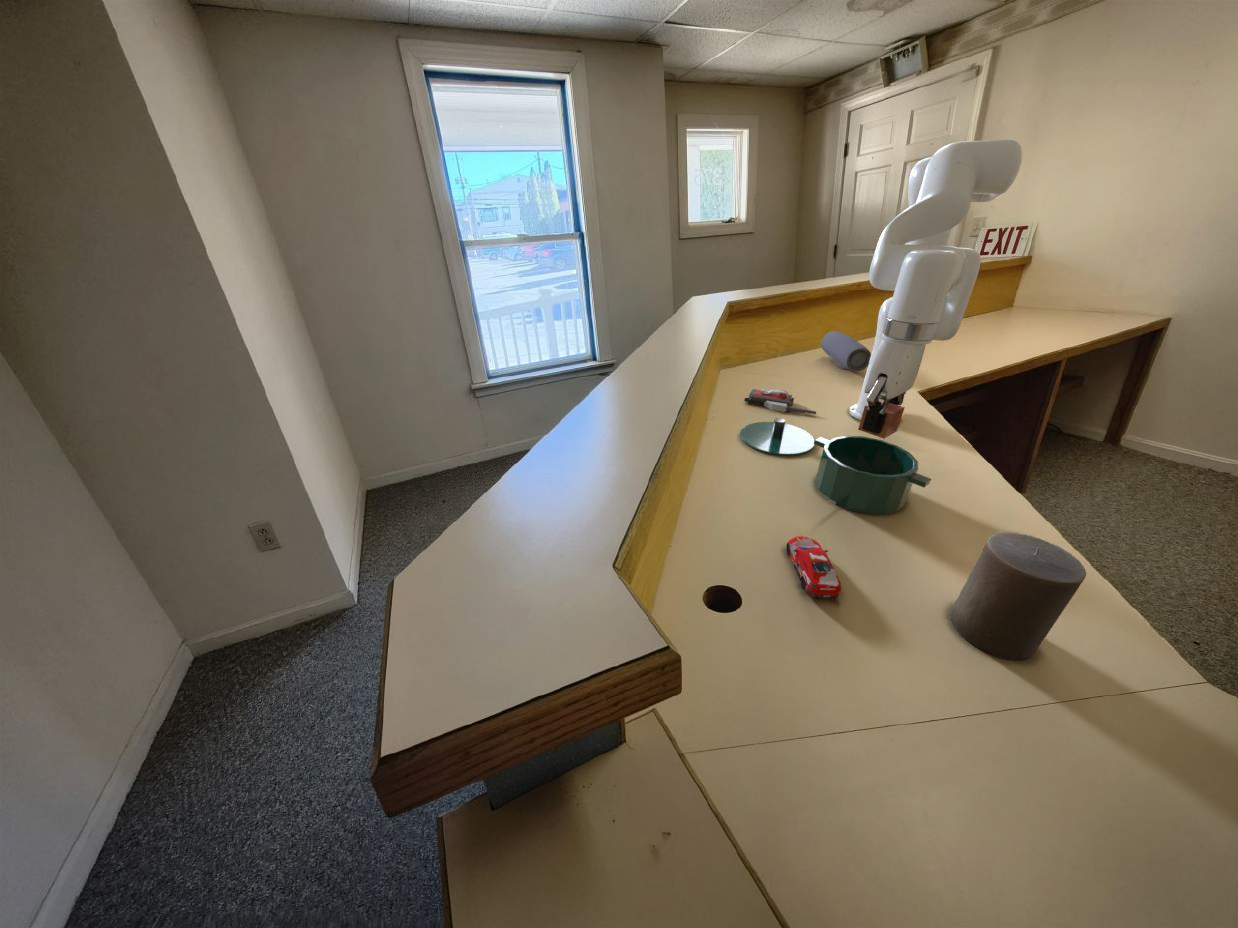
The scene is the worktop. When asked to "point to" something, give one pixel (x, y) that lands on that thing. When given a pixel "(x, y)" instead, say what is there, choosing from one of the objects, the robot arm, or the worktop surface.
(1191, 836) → the worktop surface
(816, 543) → the race car
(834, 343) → the bluetooth speaker
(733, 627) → the worktop surface
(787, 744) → the worktop surface
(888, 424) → the block
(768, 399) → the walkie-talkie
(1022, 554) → the pillar candle
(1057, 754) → the worktop surface
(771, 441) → the lid
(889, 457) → the pot
